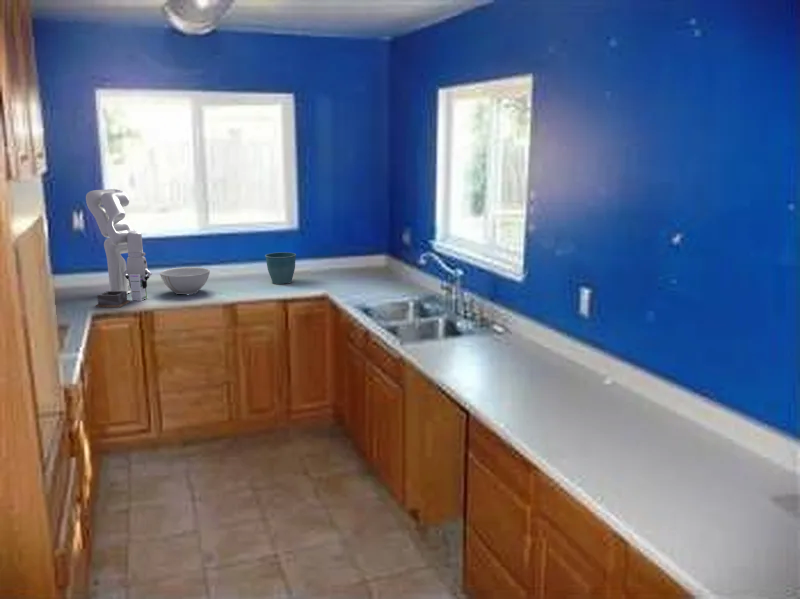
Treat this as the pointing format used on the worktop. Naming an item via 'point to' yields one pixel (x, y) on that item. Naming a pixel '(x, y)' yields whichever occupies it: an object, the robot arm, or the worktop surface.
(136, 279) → the syrup box
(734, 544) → the worktop surface
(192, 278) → the decorative bowl
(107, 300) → the dark grey open box
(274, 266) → the flower pot
